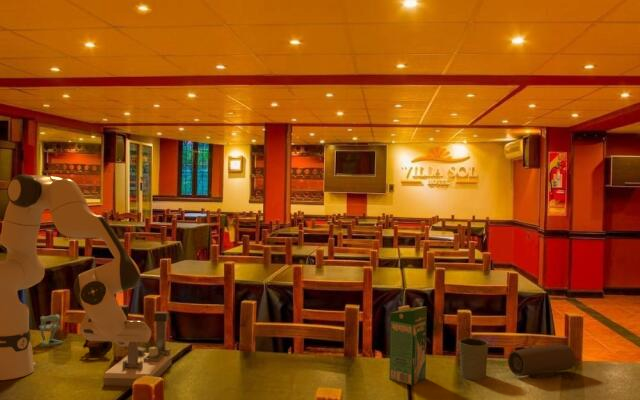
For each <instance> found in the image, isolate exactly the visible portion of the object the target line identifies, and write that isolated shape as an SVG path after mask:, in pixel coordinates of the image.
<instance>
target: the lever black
mask: <svg viewBox="0 0 640 400" xmlns="http://www.w3.org/2000/svg"><path fill="white" fill-rule="evenodd" d="M169 313H170V312H169V311H157V310H156V311H155V312H154V313H153V322H156V344H155V345H156V346H155V347H158V354H163V355H167V322H169V318H170V317H169Z"/></svg>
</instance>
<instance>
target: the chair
mask: <svg viewBox="0 0 640 400" xmlns="http://www.w3.org/2000/svg"><path fill="white" fill-rule="evenodd" d="M60 319H61V316H60V314H57V313H55V314H50V315H47V316H45V315H42V316H40V318H39V320H40V325H39V327H38V328H39V331H40V335H41V338H42V342H41V348H45V347H51V346H52V347H53V346H58V345H59V346H60V345H62V344H63V341H62V340H58V339H55V338H54V336H55V334H56V331H57V330H59V329H61V325H59V321H60ZM50 321H53V323H51V324H46V323H47V322H50ZM50 330H53V331H52V332H51V335H50V337H49V342H51V341H53V342H51V343H49V342H48V343H46V337H45V334H44V332H46V331H50Z"/></svg>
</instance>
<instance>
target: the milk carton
mask: <svg viewBox="0 0 640 400" xmlns="http://www.w3.org/2000/svg"><path fill="white" fill-rule="evenodd" d="M427 308H428V306H417V307H410V305H403V306H399V307H397V309H398V310H396V311H393V312H390V314H389V315H390V316H389V317H390V318H389V319H390V320H389V321H390V322H389V323H390V324H389V326H390V327H389V378H388V379H389V380H390V381H395V382H397V383H398V382H399V383H402V384H406V385H408V386H409V385H410V386H414V385H416V384H417V383H419V382H421V381H423V380H425V379H426V377H427V376H426V375H427V374H426V373H427V372H426V369H427V368H426V366H427V365H426V364H427V320H428V319H427V315H428V309H427Z"/></svg>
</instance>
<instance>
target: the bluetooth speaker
mask: <svg viewBox="0 0 640 400" xmlns="http://www.w3.org/2000/svg"><path fill="white" fill-rule="evenodd" d="M507 364H508V368H509V370H510V371H511V373H512V374H513V375H515V376H517V377H526V376H527V377H529V378H534V379H537V378H544V377H545V378H546V377H551V376H555V373H559V372H562V371H567V370H570V369H572V368H574V367H575V365H576V355H575V353H574V350H573V349H572V348H571V347H570V346H568V345H565V344H554V345H553V344H552V345H542V346H534V347H527V348H520V349H516V350H513V351H511V352H510V353H509V355H508V359H507Z"/></svg>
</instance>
